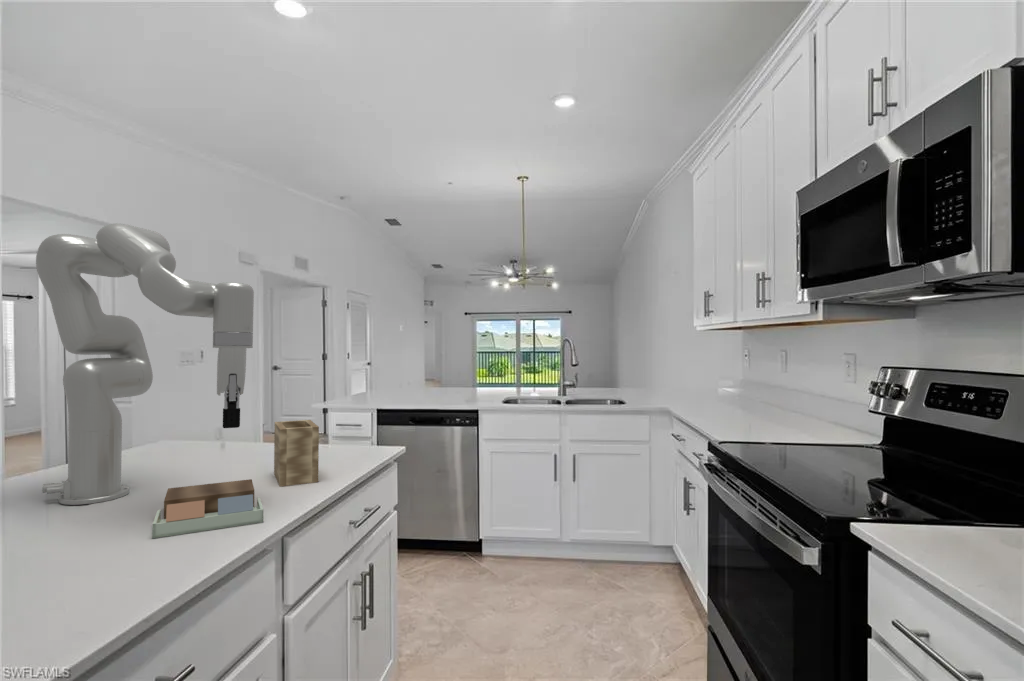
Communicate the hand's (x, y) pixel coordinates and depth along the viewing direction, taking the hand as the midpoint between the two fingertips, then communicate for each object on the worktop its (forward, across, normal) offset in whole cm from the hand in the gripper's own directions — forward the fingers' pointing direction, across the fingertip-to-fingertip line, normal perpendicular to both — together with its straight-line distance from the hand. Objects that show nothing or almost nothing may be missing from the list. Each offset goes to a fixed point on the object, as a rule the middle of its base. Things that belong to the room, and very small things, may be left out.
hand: (231, 427), depth 111 cm
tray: (+17, +8, -3) cm, 19 cm away
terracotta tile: (+13, +9, -7) cm, 17 cm away
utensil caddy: (+17, -20, +16) cm, 31 cm away
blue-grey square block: (+13, +9, +1) cm, 16 cm away
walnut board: (+17, -2, -3) cm, 18 cm away
